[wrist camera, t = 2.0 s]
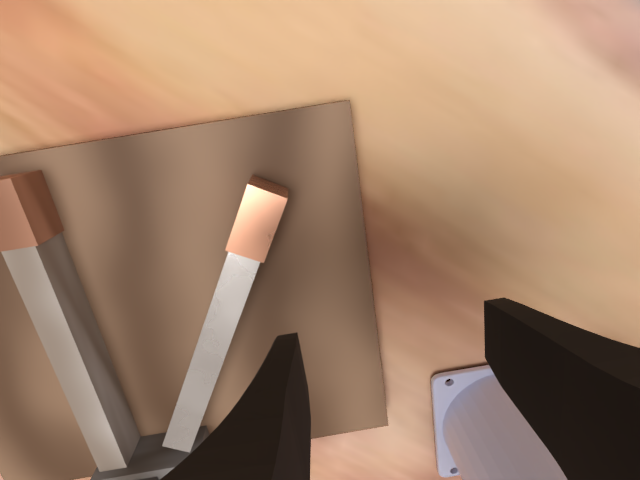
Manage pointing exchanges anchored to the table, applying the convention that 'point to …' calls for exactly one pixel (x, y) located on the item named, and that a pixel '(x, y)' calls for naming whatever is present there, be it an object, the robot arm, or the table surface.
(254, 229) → the tong arm
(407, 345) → the table surface
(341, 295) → the tongs board
